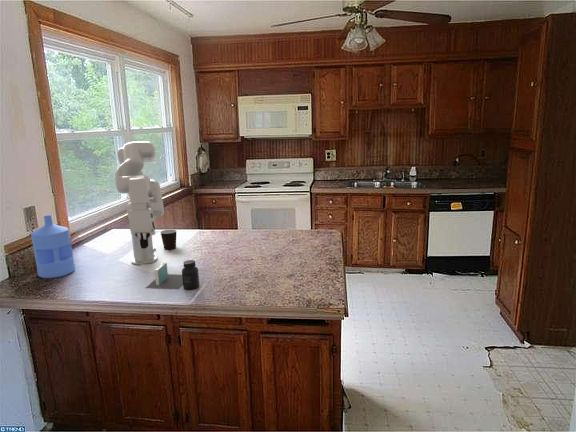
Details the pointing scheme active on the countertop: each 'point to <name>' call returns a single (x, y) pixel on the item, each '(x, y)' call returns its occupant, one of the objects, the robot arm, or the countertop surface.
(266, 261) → the countertop surface
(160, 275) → the block
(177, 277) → the mat
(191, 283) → the supplement bottle
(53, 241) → the water jug
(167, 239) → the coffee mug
